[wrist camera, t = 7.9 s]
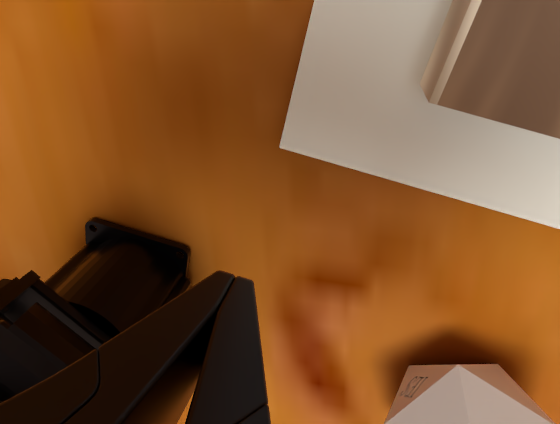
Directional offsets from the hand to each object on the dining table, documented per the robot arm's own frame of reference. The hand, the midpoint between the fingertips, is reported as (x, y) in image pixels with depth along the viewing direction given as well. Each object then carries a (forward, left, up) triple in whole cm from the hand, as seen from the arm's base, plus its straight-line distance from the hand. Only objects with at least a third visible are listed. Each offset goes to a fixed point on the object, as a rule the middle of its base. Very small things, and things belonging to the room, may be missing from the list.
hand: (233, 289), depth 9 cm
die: (+13, -13, -12) cm, 22 cm away
